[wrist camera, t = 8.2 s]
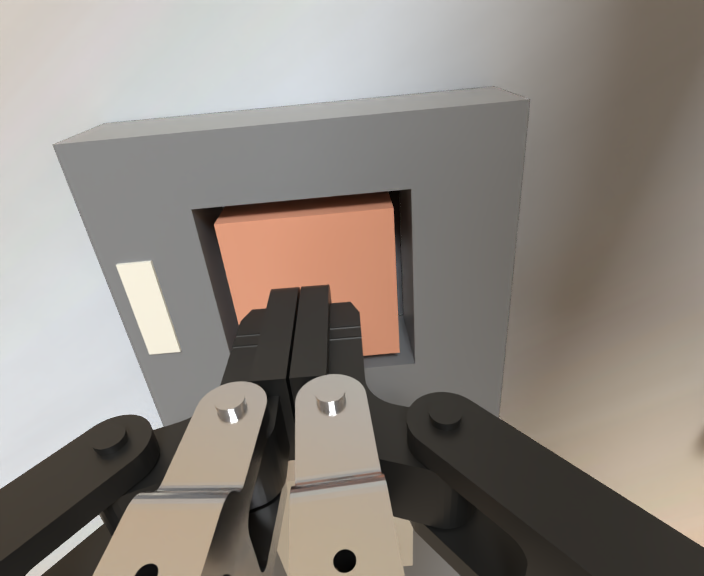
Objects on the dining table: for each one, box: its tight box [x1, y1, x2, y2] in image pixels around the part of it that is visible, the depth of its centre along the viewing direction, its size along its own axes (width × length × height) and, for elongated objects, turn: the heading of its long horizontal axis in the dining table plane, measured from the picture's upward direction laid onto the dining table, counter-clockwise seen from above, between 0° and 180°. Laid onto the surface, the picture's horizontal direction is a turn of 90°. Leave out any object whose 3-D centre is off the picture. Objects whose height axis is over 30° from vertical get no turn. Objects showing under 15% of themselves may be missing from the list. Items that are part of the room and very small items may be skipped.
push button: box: [214, 191, 400, 356], centre depth 15 cm, size 5×5×3 cm
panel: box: [53, 86, 530, 576], centre depth 19 cm, size 25×12×4 cm, turn 5°
